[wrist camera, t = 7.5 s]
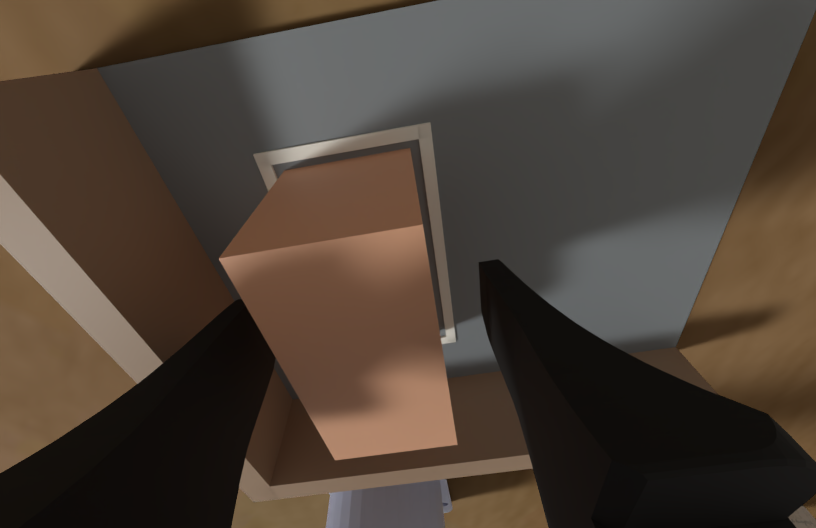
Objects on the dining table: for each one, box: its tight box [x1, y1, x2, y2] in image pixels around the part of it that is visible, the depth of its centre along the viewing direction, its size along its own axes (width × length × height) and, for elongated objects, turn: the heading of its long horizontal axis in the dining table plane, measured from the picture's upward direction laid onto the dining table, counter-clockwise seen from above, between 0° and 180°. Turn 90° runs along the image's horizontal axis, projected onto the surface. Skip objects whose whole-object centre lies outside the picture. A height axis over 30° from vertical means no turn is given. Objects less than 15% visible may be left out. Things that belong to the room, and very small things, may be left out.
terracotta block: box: [219, 148, 458, 460], centre depth 11 cm, size 8×4×5 cm, turn 9°
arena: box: [0, 0, 816, 502], centre depth 12 cm, size 16×20×4 cm
